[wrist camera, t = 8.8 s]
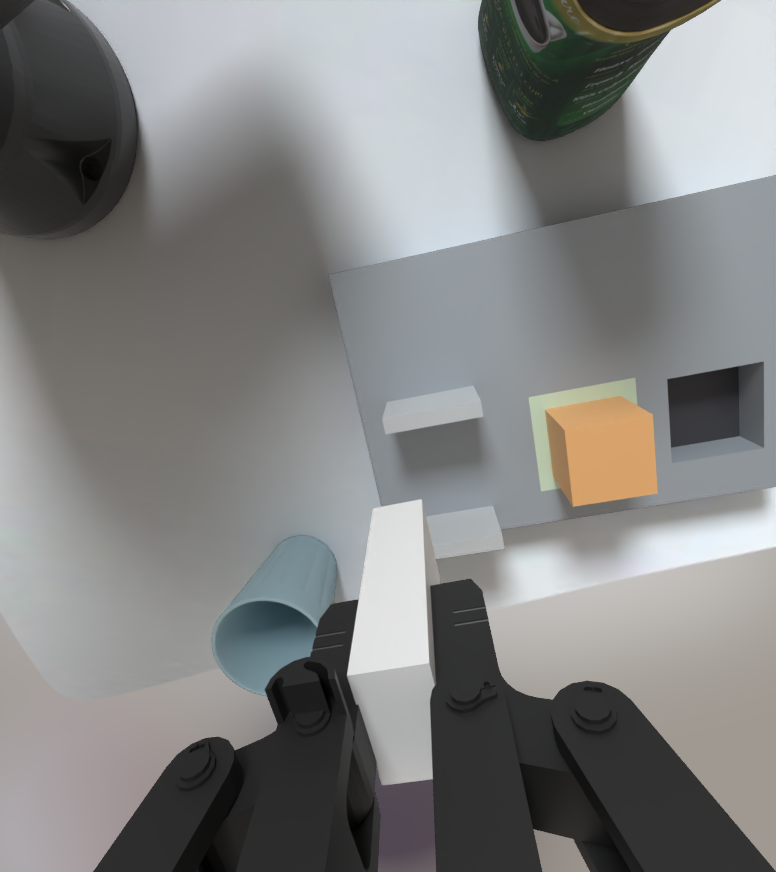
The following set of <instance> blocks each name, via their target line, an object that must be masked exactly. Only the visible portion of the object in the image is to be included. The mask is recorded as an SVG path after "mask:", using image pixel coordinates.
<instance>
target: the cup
mask: <svg viewBox="0 0 776 872" xmlns="http://www.w3.org/2000/svg"><path fill="white" fill-rule="evenodd" d="M336 572H337V566H336V560H335V557H334V555H333V553H332V551H331V550H330V549H329V547H328V546H327V545H326V544H324V543H323V542H321V541H320V540H318V539H316V538H313V537H309V536H295V537H291V538H288V539H286V540H284V541H283V542H282V543H281V544H280V545H278V546H277V547H276V549H275V550H274V551H273V552H272V553H271V555H270V556H269V557H268V558H267V560H266V561H265V562H264V563H263V564H262V566H261V567H260V568H259V569H258V571H257V572H256V573H255V574H254V575H253V577H252V578H251V579H250V580H249V582H248V583H247V584H246V585H245V587H244V588H243V589H242V590H241V592H240V593H239V594H238V595H237V596H236V598H235V599H234V600H233V601H232V602H231V604H230V605H229V606H228V607H227V609H226V610H225V611H224V612H223V613H222V615H221V616H220V617H219V619H218V620H217V622H216V624H215V627H214V629H213V633H212V650H213V654H214V657H215V659H216V661H217V663H218V665H219V667H220V668H221V670H222V671H223V672H224V674H225V675H226V676H227V677H228V678H230V680H232V681H233V682H234V683H236V684H237V685H239V686H240V687H242V688H244V689H246V690H248V691H250V692H253V693H255V694H259V695H263V696H267V695H266V692H265V690H264V689H265V688H266V686H267V684H268V682H269V681H270V679H271V678H272V677H273V676H274V675H275V674H276V673H277V672H278V671H279V670H280V669H281V668H282V667H284V666H286V665H287V664H289V663H291V662H293V661H295V660H298V659H302V658H305V657H310V654H311V651H312V646H313V643H314V639H315V638H316V631H317V627H318V623H319V619H320V618H321V617H322V615H323V614H324V613H325V611H326V610H327V609H328V607H329V606H330V605H331V604H334V595H335V584H336Z"/></svg>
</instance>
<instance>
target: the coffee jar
mask: <svg viewBox="0 0 776 872" xmlns="http://www.w3.org/2000/svg"><path fill="white" fill-rule="evenodd" d="M719 1H721V0H482V3H481V7H480V11H479V17H478V31H479V37H480V43H481V47H482V51H483V54H484V59H485V63H486V66H487V69H488V73H489V75H490V78H491V81H492V84H493V87H494V90H495V92H496V95H497V97H498V100H499V102H500V104H501V106H502V108H503V110H504V112H505V114H506V116H507V118H508V119H509V121H510V123H511V125H512V126H513V127H514V128H515V130H516V131H517V132H519V133H520V134H521V135H523V136H525V137H526V138H529V139H532V140H538V141H545V140H551V139H555V138H558V137H561V136H564V135H566V134H568V133H570V132H573V131H575V130H577V129H579V128H581V127H583V126H585V125H587V124H589V123H590V122H592V121H594V120H595V119H597V118H598V117H599V116H601V115H602V114H604V113H605V112H606V111H607V110H608V109H609V108H610V107H611V106H612V105H613V104H614V103H615V102H616V101H617V100H618V99H619V98H620V97H621V95H622V94H623V93H624V92H625V91H626V89H627V88H628V87H629V85H630V84H631V83H632V81H633V80H634V79H635V77H636V76H637V74H638V73H639V72H640V70H641V69H642V67H643V66H644V64H645V63H646V62H647V60H648V59H649V57H650V56H651V55H652V54H653V52H654V51H655V50H656V48H657V47H658V46H659V44H660V43H661V42H662V40H663V39H664V38H665V37H666V35H667V34H668V33H669V32H670V30H671V29H673V28H675V27H677V26H680V25H682V24H684V23H685V22H687V21H689V20H691V19H692V18H694V17H696V16H698V15H699V14H701V13H703V12H704V11H706V10H707V9H709V8H710V7H712V6H713V5H715V4H716V3H718V2H719Z"/></svg>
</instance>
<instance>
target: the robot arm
mask: <svg viewBox="0 0 776 872" xmlns="http://www.w3.org/2000/svg"><path fill="white" fill-rule="evenodd" d="M136 147H137V123H136V114H135V107H134V102H133V98H132V94H131V90H130V87H129V84H128V81H127V78H126V76H125V73H124V71H123V68H122V66H121V64H120V62H119V60H118V58H117V56H116V55H115V53H114V51H113V49H112V48H111V46H110V45H109V43H108V42H107V40H106V39H105V37H104V36H103V35H102V33H101V32H100V31H99V30H98V28H97V27H96V26H95V25H94V24H93V23H92V22H91V21H90V20H89V19H88V18H87V17H86V16H85V15H84V14H83V13H82V12H81V11H80V10H79V9H77V8H76V7H75V6H74V5H72V4H71V3H70V2H69V1H67V0H0V232H1V233H5V234H9V235H15V236H23V237H32V238H43V239H54V238H62V237H67V236H71V235H74V234H77V233H80V232H82V231H84V230H86V229H88V228H90V227H92V226H93V225H95V224H96V223H98V222H99V221H100V220H101V219H103V218H104V217H105V216H106V215H107V214H108V213H109V212H110V211H111V210H112V208H113V207H114V206H115V205H116V203H117V202H118V200H119V199H120V197H121V196H122V194H123V192H124V190H125V188H126V186H127V184H128V181H129V178H130V176H131V173H132V169H133V165H134V160H135V155H136ZM264 690H265V692H266V695H267V697H268V700H269V702H270V705H271V708H272V710H273V713H274V715H275V718H276V721H277V723H278V726H277V729H276V731H274V732H273V733H272V734H270V735H268V736H266V737H264V738H263V739H261V740H258V741H256V742H254V743H251V744H249V745H247V746H245V747H242V748H240V749H238V750H234V748H233V747H232V745H231V744H230V742H229V741H228V740H226V739H223V738H220V737H211V738H205V739H202V740H200V741H198V742H195V743H193V744H191V745H190V746H188V747H187V748H186V749H185V750H183V751H181V752H180V753H179V754H178V755H177V756H176V757H175V758H174V759H173V760H172V761H171V763H170V764H169V765H168V766H167V767H166V769H165V770H164V772H163V773H162V774H161V776H160V777H159V779H158V780H157V782H156V783H155V784H154V786H153V787H152V789H151V790H150V792H149V793H148V794H147V796H146V797H145V799H144V800H143V801H142V803H141V804H140V806H139V807H138V809H137V810H136V811H135V813H134V814H133V816H132V817H131V819H130V820H129V821H128V823H127V824H126V826H125V827H124V829H123V830H122V831H121V833H120V834H119V836H118V837H117V839H116V840H115V842H114V843H113V844H112V846H111V847H110V849H109V850H108V851H107V853H106V854H105V856H104V857H103V859H102V860H101V862H100V863H99V864H98V866H97V867H96V869H95V870H94V871H93V872H378V854H379V835H380V809H379V802H378V799H377V796H376V793H375V777H376V768H377V771H378V774H379V777H380V781H381V784H382V785H389V784H397V783H405V782H413V781H421V780H428V779H433V796H434V822H435V844H436V845H435V847H436V872H542V868H541V864H540V859H539V854H538V850H537V845H536V840H535V835H534V831H533V829H535V830H540V831H544V832H548V833H552V834H556V835H560V836H564V837H568V838H572V839H574V841H575V843H576V845H577V847H578V849H579V851H580V853H581V855H582V857H583V859H584V861H585V862H586V864H587V866H588V868H589V870H590V872H776V871H775V870H774V869H773V868H772V866H771V865H770V864H769V863H768V862H767V860H766V859H765V858H764V857H763V856H762V854H761V853H760V852H759V851H758V850H757V849H756V848H755V846H754V845H753V844H752V843H751V842H750V840H749V839H748V838H747V837H746V836H745V834H744V833H743V832H742V831H741V830H740V828H739V827H738V826H737V825H736V824H735V823H734V821H733V820H732V819H731V818H730V817H729V815H728V814H727V813H726V812H725V811H724V809H723V808H722V807H721V806H720V805H719V804H718V802H717V801H716V800H715V799H714V798H713V796H712V795H711V794H710V793H709V792H708V791H707V789H706V788H705V787H704V786H703V785H702V784H701V782H700V781H699V780H698V779H697V778H696V776H695V775H694V774H693V773H692V772H691V770H690V769H689V768H688V767H687V766H686V764H685V763H684V762H683V761H682V760H681V759H680V757H679V756H678V755H677V754H676V753H675V751H674V750H673V749H672V748H671V747H670V746H669V744H668V743H667V742H666V741H665V740H664V739H663V737H662V736H661V735H660V734H659V733H658V731H657V730H656V729H655V728H654V727H653V725H652V724H651V723H650V722H649V721H648V720H647V718H646V717H645V716H644V715H643V714H642V712H641V711H640V710H639V709H638V708H637V707H636V705H635V704H634V703H633V702H632V701H631V700H630V699H629V698H628V697H627V696H626V695H625V694H623V693H622V692H621V691H620V690H618V689H616V688H614V687H612V686H609V685H607V684H605V683H600V682H592V681H583V682H578V683H572V684H570V685H568V686H567V687H565V688H563V689H561V690H560V691H559V692H558V694H557V695H556V696H555V698H554V699H553V700H550V699H543V698H536V697H532V696H528V695H525V694H523V693H521V692H518V691H516V690H515V689H513V688H512V687H511V686H510V685H508V684H507V682H506V681H505V680H504V679H503V677H502V676H501V673H500V670H499V667H498V663H497V658H496V653H495V650H494V644H493V639H492V635H491V630H490V626H489V622H488V616H487V612H486V607H485V602H484V598H483V593H482V590H481V589H480V588H479V587H478V586H477V585H476V584H475V583H474V582H473V581H472V580H471V579H466V580H461V581H455V582H449V583H443V584H441V583H440V575H439V570H438V566H437V562H436V558H435V553H434V549H433V545H432V540H431V536H430V532H429V528H428V523H427V519H426V515H425V510H424V506H423V502H422V499H419V500H414V501H409V502H404V503H398V504H393V505H388V506H383V507H378V508H373V511H372V517H371V524H370V530H369V537H368V543H367V550H366V556H365V562H364V569H363V575H362V582H361V588H360V595H359V599H358V600H353V601H347V602H341V603H335V604H331V605H330V606H329V607H328V609H327V610H326V611H325V613H324V614H323V615H322V617H321V618H320V619H319V623H318V627H317V631H316V638H315V639H314V643H313V646H312V651H311V654H310V657H305V658H302V659H298V660H295V661H293V662H291V663H289V664H287V665H286V666H284V667H282V668H281V669H280V670H279V671H278V672H277V673H276V674H275V675H274V676H273V677H272V678H271V679H270V681H269V682H268V684H267V686H266V688H265V689H264Z"/></svg>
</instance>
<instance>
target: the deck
mask: <svg viewBox="0 0 776 872" xmlns="http://www.w3.org/2000/svg"><path fill="white" fill-rule="evenodd" d="M329 280H330V284H331V288H332V293H333V297H334V301H335V306H336V310H337V314H338V319H339V323H340V328H341V332H342V336H343V341H344V345H345V349H346V354H347V358H348V362H349V367H350V371H351V375H352V380H353V384H354V389H355V393H356V397H357V402H358V406H359V410H360V415H361V419H362V423H363V428H364V432H365V436H366V441H367V445H368V450H369V454H370V458H371V463H372V467H373V471H374V476H375V480H376V484H377V489H378V493H379V497H380V502H381V506H382V507H383V506H388V505H393V504H398V503H404V502H409V501H414V500H419V499H422V502H423V506H424V510H425V515H426V519H427V523H428V528H429V532H430V536H431V540H432V545H433V549H434V553H435V558H436V559H441V558H448V557H455V556H461V555H468V554H474V553H481V552H488V551H494V550H501V549H505V548H504V542H503V535H502V532H501V530H502V529H508V528H515V527H521V526H527V525H534V524H540V523H547V522H553V521H560V520H566V519H572V518H579V517H585V516H592V515H598V514H605V513H611V512H617V511H624V510H630V509H637V508H643V507H649V506H656V505H662V504H669V503H675V502H682V501H688V500H694V499H701V498H707V497H714V496H720V495H727V494H733V493H739V492H746V491H752V490H759V489H765V488H771V487H776V175H774V176H769V177H765V178H760V179H756V180H751V181H747V182H742V183H738V184H734V185H729V186H725V187H720V188H716V189H711V190H707V191H702V192H698V193H693V194H689V195H684V196H680V197H675V198H671V199H666V200H662V201H657V202H653V203H648V204H644V205H639V206H635V207H630V208H626V209H621V210H617V211H612V212H608V213H603V214H599V215H594V216H590V217H585V218H581V219H576V220H572V221H567V222H563V223H558V224H554V225H550V226H545V227H541V228H536V229H532V230H527V231H523V232H518V233H514V234H509V235H505V236H500V237H496V238H491V239H487V240H482V241H478V242H473V243H469V244H464V245H460V246H455V247H451V248H446V249H442V250H437V251H433V252H428V253H424V254H419V255H415V256H410V257H406V258H401V259H397V260H392V261H388V262H383V263H379V264H374V265H370V266H366V267H361V268H357V269H352V270H348V271H343V272H339V273H334V274H330V275H329ZM617 396H622V397H623V398H625V399H627V400H629V401H630V402H632V403H634V404H635V405H637V406H639V407H641V408H642V409H644V410H646V411H648V412H649V413H651V414H653V425H654V441H655V457H656V473H657V489H658V494H652V495H645V496H639V497H633V498H626V499H620V500H613V501H607V502H600V503H594V504H588V505H581V506H575V507H573V506H572V504H571V503H570V501H569V500H568V498H567V497H566V495H565V494H564V492H563V491H562V489H561V488H560V486H559V485H558V483H557V482H556V480H555V479H554V477H553V472H552V464H551V455H550V447H549V439H548V431H547V423H546V415H545V409H550V408H555V407H561V406H567V405H572V404H578V403H583V402H589V401H594V400H600V399H606V398H611V397H617Z"/></svg>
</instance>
